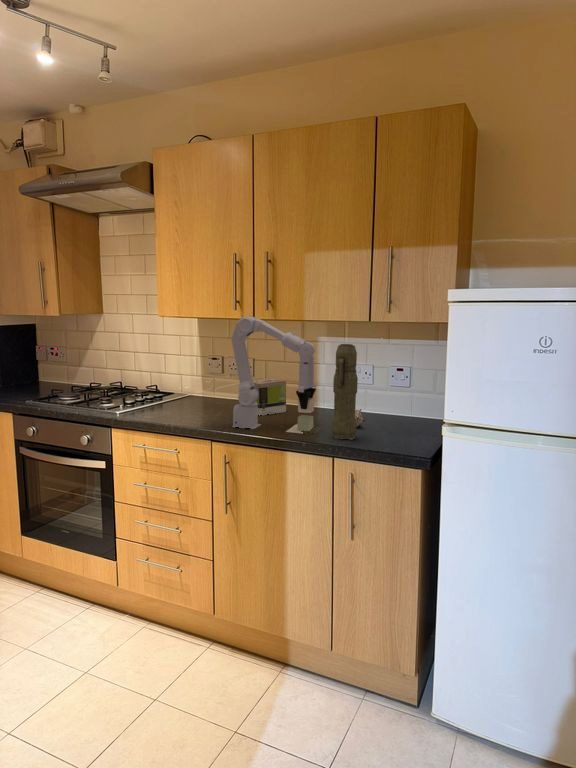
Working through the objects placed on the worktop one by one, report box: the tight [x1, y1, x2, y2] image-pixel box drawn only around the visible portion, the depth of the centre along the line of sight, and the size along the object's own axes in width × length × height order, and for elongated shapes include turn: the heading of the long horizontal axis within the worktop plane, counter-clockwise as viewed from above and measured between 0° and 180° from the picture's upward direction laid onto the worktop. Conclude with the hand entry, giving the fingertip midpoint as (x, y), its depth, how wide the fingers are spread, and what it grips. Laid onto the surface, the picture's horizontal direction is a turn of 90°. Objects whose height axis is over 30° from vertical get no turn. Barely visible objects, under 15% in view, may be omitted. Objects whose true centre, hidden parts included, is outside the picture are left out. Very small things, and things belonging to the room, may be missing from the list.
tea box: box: [253, 378, 287, 417], centre depth 243 cm, size 15×10×15 cm, turn 126°
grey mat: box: [285, 423, 303, 434], centre depth 212 cm, size 12×14×1 cm
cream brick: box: [297, 397, 315, 414], centre depth 211 cm, size 5×5×5 cm
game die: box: [355, 408, 366, 428], centre depth 217 cm, size 9×8×10 cm
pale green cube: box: [297, 414, 314, 431], centre depth 212 cm, size 5×5×5 cm
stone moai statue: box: [331, 343, 359, 439], centre depth 198 cm, size 9×12×35 cm
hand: (305, 407), depth 211 cm, fingers closed on cream brick, 5 cm apart
